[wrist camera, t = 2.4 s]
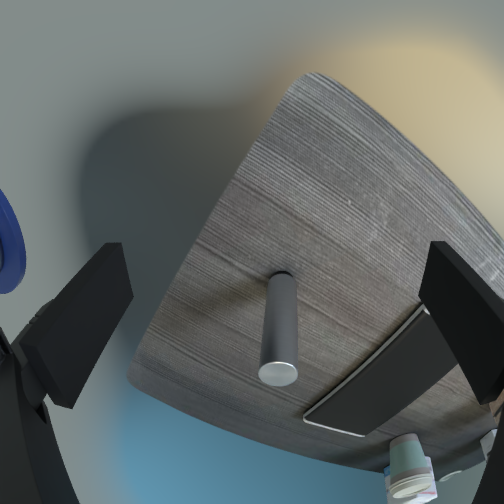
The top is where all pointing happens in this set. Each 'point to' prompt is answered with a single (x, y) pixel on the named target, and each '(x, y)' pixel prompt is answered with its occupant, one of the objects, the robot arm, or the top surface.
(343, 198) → the top surface
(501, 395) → the planter
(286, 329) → the grey metal rod
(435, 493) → the ink box
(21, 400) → the robot arm
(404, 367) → the smartphone
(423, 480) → the coffee cup
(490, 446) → the ink box
